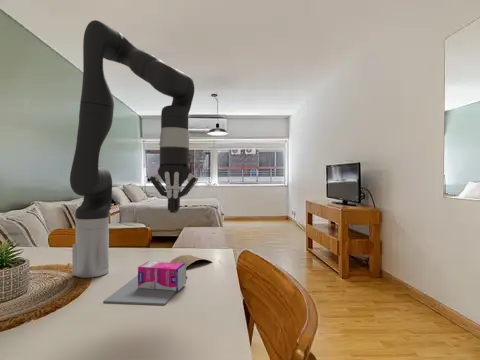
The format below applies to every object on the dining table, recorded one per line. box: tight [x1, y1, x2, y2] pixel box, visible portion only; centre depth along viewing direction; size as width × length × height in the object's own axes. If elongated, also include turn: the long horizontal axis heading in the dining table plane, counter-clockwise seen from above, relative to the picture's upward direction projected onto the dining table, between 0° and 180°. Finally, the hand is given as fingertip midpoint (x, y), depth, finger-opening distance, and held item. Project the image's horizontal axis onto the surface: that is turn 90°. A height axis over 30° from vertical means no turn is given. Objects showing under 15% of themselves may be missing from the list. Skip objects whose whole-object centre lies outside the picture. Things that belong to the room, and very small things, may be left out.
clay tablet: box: [169, 254, 212, 268], centre depth 108 cm, size 14×10×3 cm
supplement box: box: [137, 260, 187, 292], centre depth 84 cm, size 6×6×12 cm
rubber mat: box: [102, 274, 188, 306], centre depth 83 cm, size 15×20×1 cm
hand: (173, 212), depth 82 cm, fingers closed
